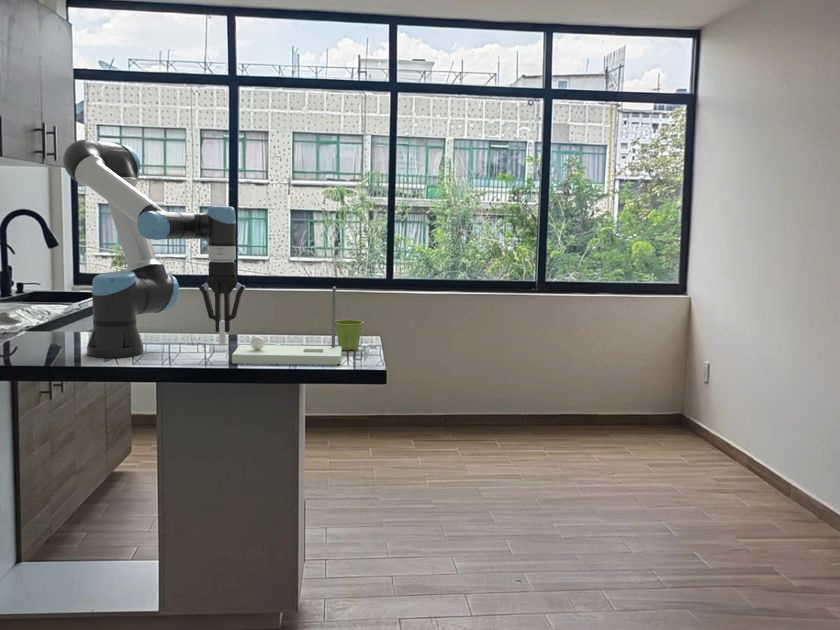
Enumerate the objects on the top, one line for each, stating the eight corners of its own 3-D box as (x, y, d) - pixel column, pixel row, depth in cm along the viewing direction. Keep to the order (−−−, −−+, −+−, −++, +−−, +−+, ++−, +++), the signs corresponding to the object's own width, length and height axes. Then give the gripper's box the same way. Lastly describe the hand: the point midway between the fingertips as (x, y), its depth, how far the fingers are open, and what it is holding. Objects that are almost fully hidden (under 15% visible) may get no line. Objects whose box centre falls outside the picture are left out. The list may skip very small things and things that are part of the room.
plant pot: (355, 352, 235) (356, 324, 234) (328, 350, 238) (328, 322, 237) (368, 348, 244) (368, 321, 243) (341, 345, 247) (341, 319, 246)
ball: (249, 350, 218) (249, 337, 218) (251, 348, 222) (251, 334, 222) (263, 351, 219) (263, 337, 218) (265, 348, 223) (265, 335, 222)
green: (232, 363, 212) (232, 289, 210) (242, 350, 232) (242, 283, 229) (340, 364, 215) (341, 292, 213) (341, 352, 234) (342, 285, 232)
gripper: (196, 261, 212) (197, 345, 215) (243, 262, 213) (244, 345, 216) (201, 259, 220) (202, 341, 223) (247, 260, 221) (247, 341, 224)
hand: (222, 343), depth 219 cm, fingers closed
